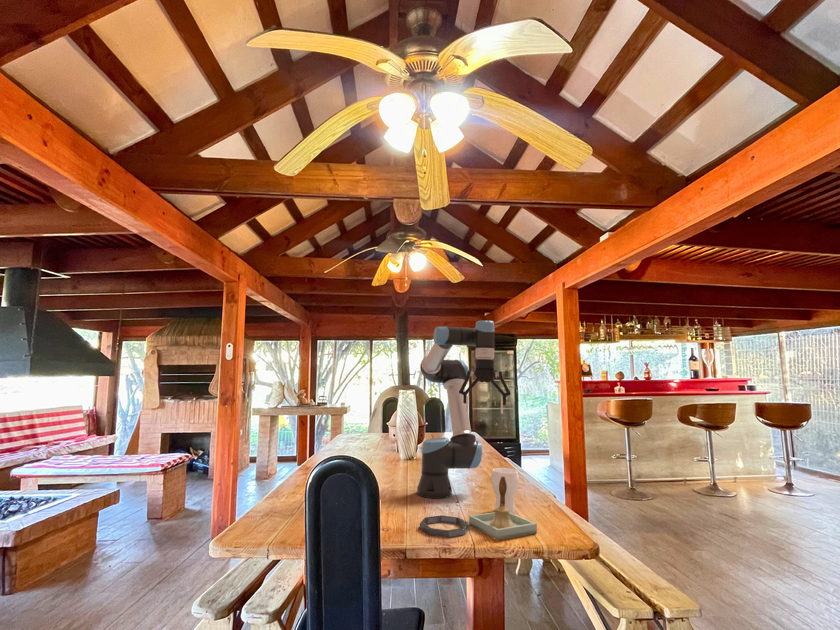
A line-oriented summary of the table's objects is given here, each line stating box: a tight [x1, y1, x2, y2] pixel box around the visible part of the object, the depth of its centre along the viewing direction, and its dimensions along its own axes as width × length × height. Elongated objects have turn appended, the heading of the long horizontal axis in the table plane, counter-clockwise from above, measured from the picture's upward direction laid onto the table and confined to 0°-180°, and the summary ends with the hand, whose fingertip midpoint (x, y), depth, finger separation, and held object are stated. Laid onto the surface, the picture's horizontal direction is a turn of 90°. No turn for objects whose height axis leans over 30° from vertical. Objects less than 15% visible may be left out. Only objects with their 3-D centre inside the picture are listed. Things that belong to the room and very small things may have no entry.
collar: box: [419, 515, 470, 538], centre depth 149 cm, size 15×15×2 cm
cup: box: [490, 467, 520, 514], centre depth 171 cm, size 11×11×15 cm
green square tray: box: [468, 511, 538, 541], centre depth 150 cm, size 16×16×3 cm
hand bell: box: [490, 477, 514, 529], centre depth 151 cm, size 8×8×16 cm
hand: (484, 412), depth 176 cm, fingers open, 13 cm apart
